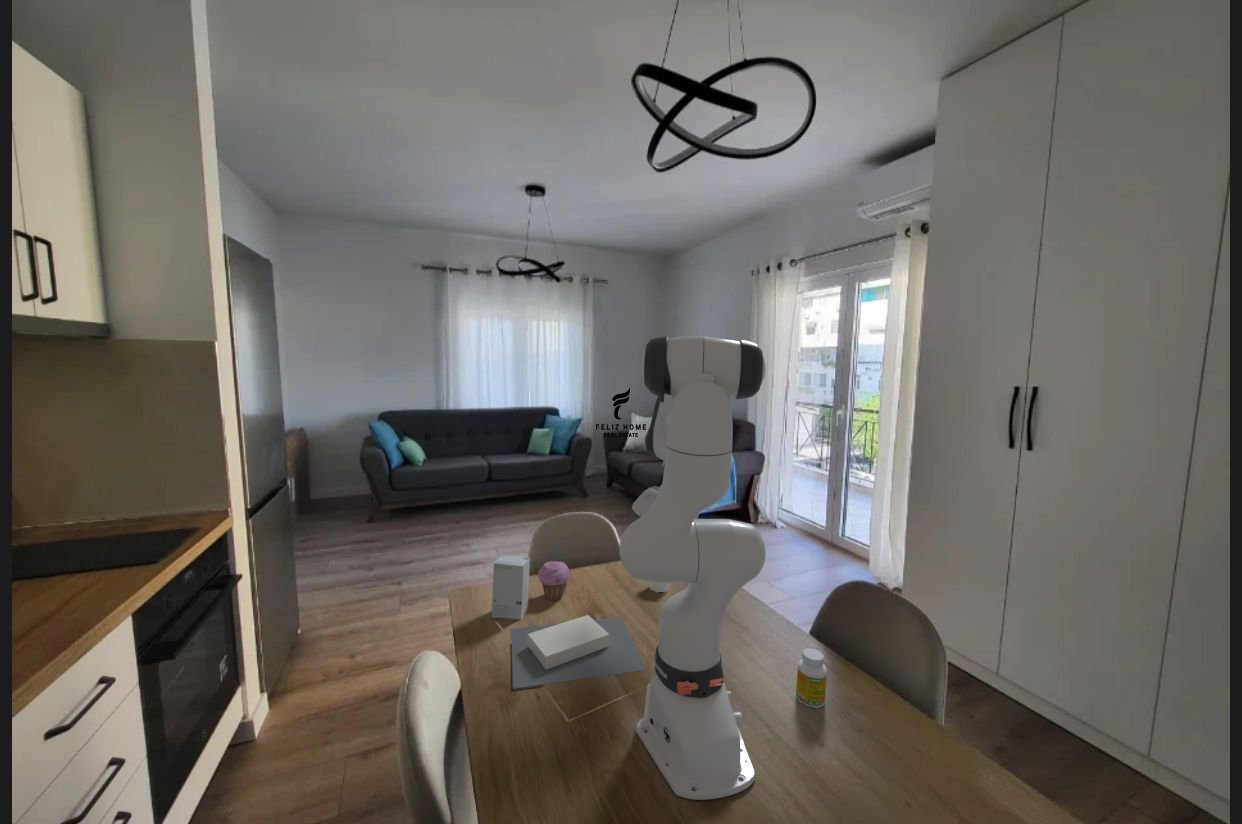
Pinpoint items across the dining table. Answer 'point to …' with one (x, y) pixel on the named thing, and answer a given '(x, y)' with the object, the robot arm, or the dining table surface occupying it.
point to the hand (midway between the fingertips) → (645, 536)
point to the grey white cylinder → (659, 587)
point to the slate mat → (595, 664)
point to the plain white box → (567, 641)
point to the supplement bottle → (811, 678)
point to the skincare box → (510, 587)
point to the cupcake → (554, 579)
